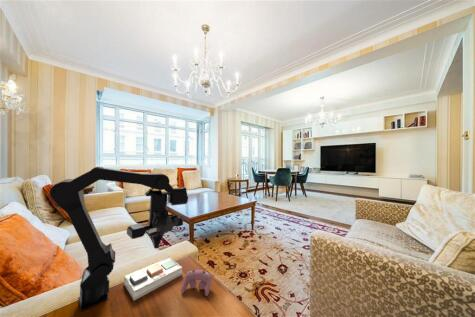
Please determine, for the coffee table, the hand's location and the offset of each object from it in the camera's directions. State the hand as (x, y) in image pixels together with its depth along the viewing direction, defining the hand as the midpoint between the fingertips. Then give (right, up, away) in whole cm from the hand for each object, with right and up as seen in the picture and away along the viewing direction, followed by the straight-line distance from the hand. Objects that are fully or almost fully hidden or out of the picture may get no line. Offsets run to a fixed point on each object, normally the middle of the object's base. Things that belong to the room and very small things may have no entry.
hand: (156, 248), depth 64 cm
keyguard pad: (-1, -12, 0) cm, 12 cm away
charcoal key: (-4, -9, -4) cm, 11 cm away
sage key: (+3, -11, +4) cm, 12 cm away
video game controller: (+16, -13, -4) cm, 21 cm away
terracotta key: (0, -10, 0) cm, 10 cm away
